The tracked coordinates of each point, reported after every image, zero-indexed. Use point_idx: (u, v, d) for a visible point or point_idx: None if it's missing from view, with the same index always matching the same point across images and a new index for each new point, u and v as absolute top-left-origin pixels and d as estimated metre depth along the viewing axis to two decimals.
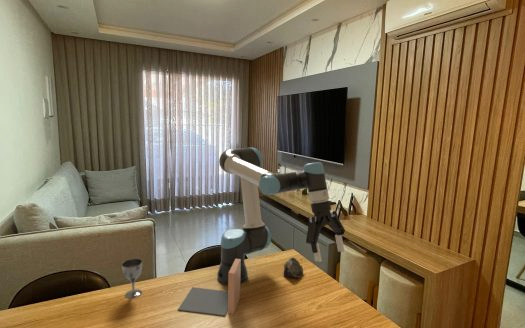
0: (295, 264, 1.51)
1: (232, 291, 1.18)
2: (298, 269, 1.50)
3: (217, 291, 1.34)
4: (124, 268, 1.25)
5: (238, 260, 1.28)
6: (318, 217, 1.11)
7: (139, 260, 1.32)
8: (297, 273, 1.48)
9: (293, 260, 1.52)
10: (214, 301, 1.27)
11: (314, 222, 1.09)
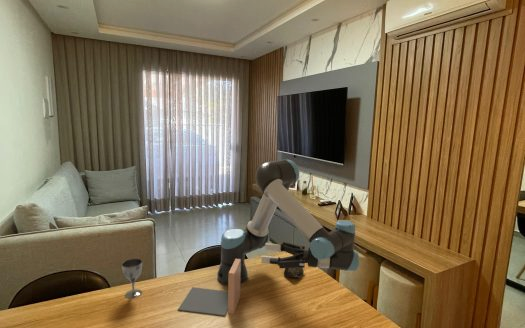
0: None
1: (232, 291, 1.18)
2: (298, 269, 1.50)
3: (217, 291, 1.34)
4: (124, 268, 1.25)
5: (238, 260, 1.28)
6: None
7: (139, 260, 1.32)
8: (297, 273, 1.48)
9: None
10: (214, 301, 1.27)
11: None
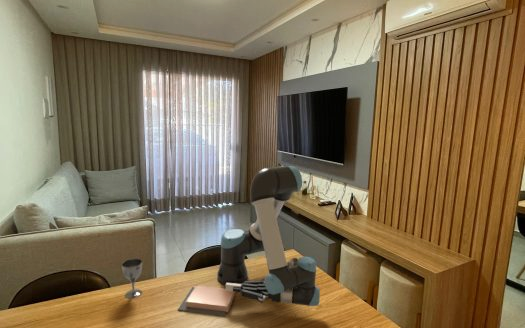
0: None
1: (204, 305, 1.21)
2: None
3: None
4: (124, 268, 1.25)
5: None
6: None
7: (139, 260, 1.32)
8: None
9: (295, 260, 1.52)
10: None
11: None
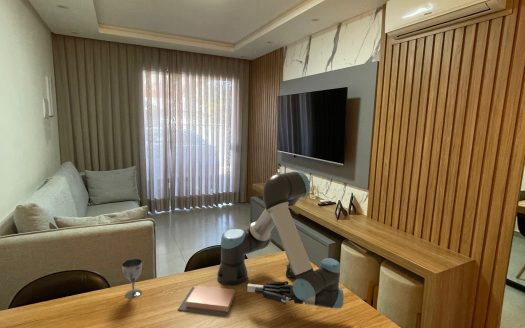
0: None
1: (204, 305, 1.21)
2: None
3: None
4: (124, 268, 1.25)
5: None
6: None
7: (139, 260, 1.32)
8: None
9: None
10: None
11: None
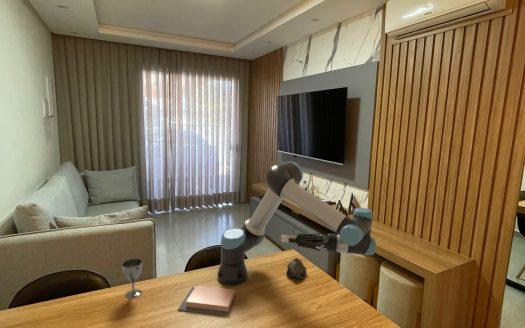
0: (298, 265, 1.51)
1: (204, 305, 1.21)
2: (301, 270, 1.50)
3: None
4: (124, 268, 1.25)
5: None
6: None
7: (139, 260, 1.32)
8: (300, 274, 1.47)
9: (296, 260, 1.52)
10: None
11: None
